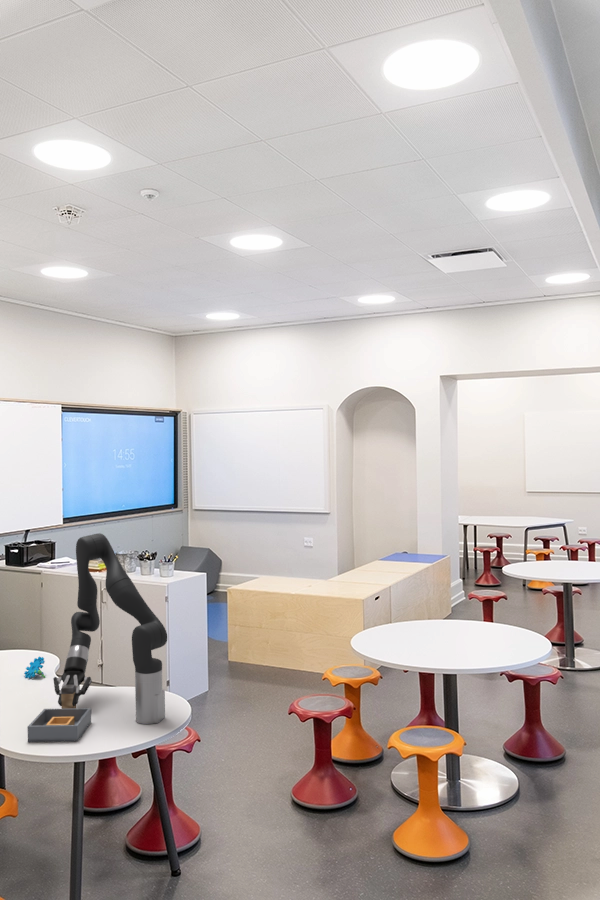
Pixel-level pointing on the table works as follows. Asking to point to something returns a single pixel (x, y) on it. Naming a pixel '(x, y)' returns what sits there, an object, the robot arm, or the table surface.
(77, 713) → the box
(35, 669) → the blue lumpy cluster
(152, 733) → the table surface
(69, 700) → the plug
